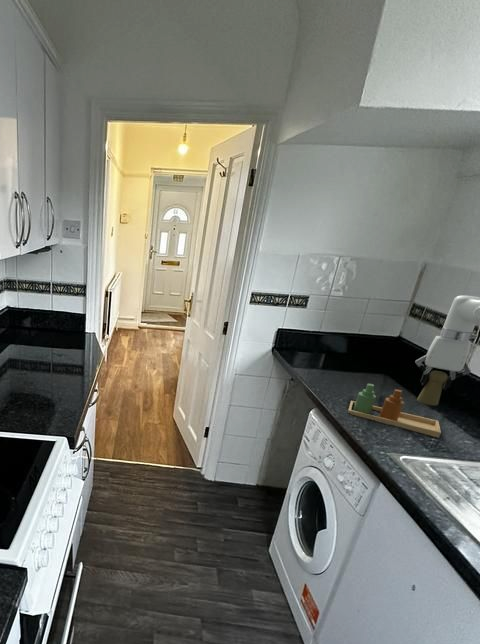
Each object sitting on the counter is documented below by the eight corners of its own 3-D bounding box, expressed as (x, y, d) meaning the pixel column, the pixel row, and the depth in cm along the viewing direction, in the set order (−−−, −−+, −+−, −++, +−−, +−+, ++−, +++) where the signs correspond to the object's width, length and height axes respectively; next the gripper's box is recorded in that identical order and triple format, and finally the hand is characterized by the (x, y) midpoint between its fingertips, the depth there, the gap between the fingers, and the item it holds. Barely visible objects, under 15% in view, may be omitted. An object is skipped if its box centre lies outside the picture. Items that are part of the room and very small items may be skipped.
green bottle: (370, 411, 156) (380, 384, 152) (369, 416, 152) (379, 388, 147) (353, 407, 159) (362, 380, 155) (352, 412, 155) (361, 384, 150)
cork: (435, 406, 139) (448, 376, 135) (414, 400, 143) (426, 370, 139) (440, 402, 143) (453, 372, 138) (419, 396, 147) (431, 367, 142)
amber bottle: (397, 417, 152) (407, 390, 148) (397, 423, 148) (408, 394, 143) (379, 413, 155) (389, 386, 150) (378, 418, 150) (389, 390, 146)
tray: (436, 425, 149) (438, 420, 148) (438, 437, 140) (441, 432, 139) (349, 405, 162) (351, 400, 161) (346, 414, 153) (348, 410, 152)
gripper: (487, 337, 132) (464, 390, 140) (422, 328, 141) (403, 378, 148) (491, 342, 126) (467, 396, 134) (423, 332, 135) (403, 384, 142)
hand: (433, 386), depth 141 cm, fingers closed on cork, 5 cm apart
